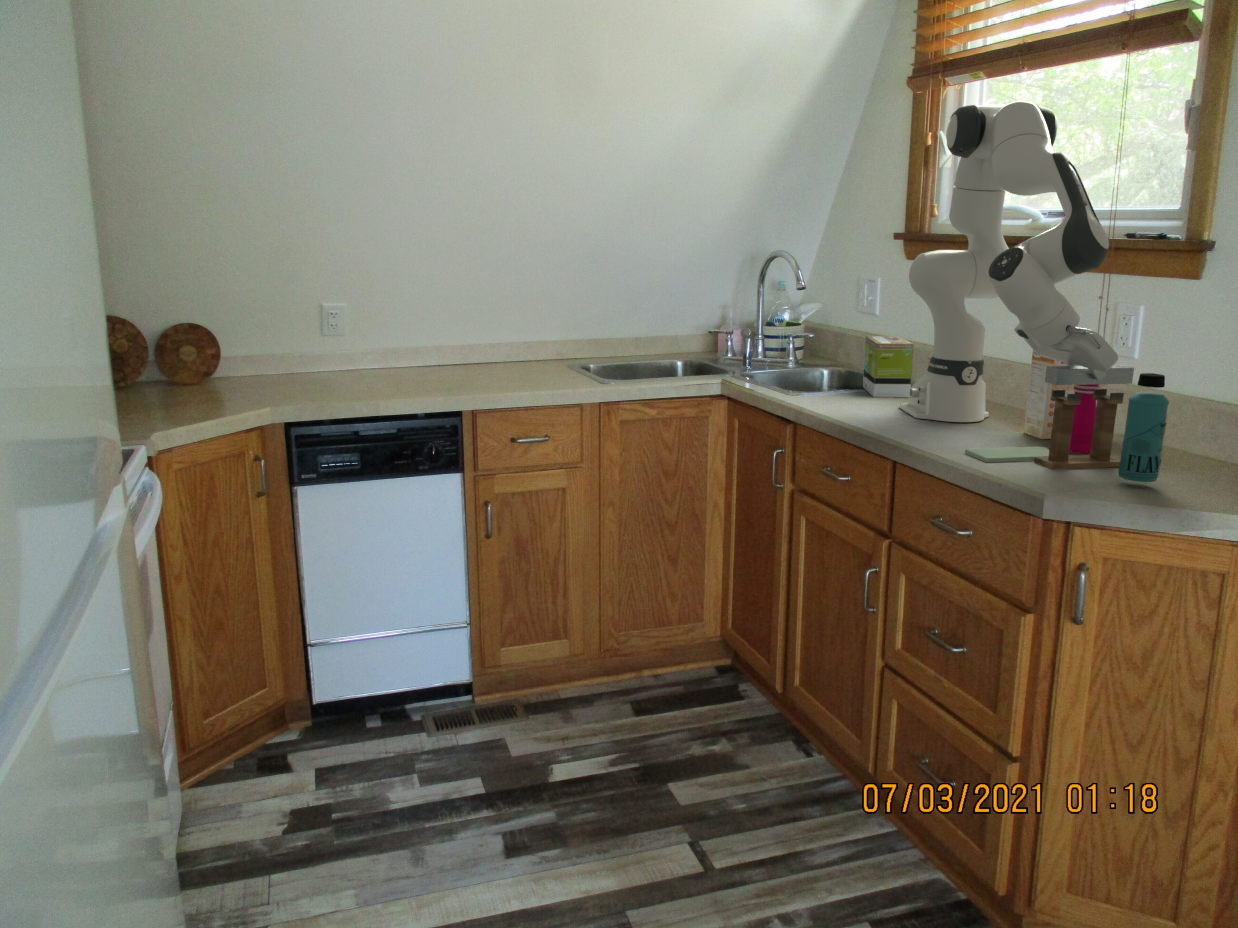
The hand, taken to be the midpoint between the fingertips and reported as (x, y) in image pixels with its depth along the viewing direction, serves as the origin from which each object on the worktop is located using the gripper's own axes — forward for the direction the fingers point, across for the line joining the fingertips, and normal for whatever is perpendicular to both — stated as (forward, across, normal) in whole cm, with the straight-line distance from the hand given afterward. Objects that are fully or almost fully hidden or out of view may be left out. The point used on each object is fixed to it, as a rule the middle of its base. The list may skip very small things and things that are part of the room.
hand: (1092, 375), depth 185 cm
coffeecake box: (+22, +25, +3) cm, 33 cm away
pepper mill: (+18, +11, +7) cm, 22 cm away
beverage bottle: (+12, -16, +13) cm, 24 cm away
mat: (+6, +8, +19) cm, 21 cm away
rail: (0, 0, +1) cm, 1 cm away
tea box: (+13, +82, +14) cm, 84 cm away
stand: (+12, 0, +13) cm, 17 cm away
